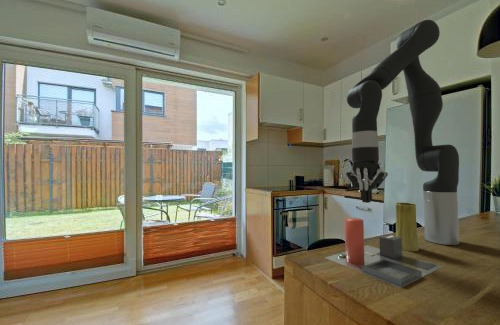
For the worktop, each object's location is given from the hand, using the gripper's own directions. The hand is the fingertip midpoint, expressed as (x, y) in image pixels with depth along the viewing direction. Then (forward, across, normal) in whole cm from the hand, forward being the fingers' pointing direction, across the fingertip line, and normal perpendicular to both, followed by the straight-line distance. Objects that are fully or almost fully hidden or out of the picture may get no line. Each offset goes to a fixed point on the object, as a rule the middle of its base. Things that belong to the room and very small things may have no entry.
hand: (366, 202), depth 73 cm
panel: (+15, -8, +7) cm, 18 cm away
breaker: (+14, -7, 0) cm, 16 cm away
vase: (+15, -6, -11) cm, 20 cm away
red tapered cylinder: (+14, -4, +12) cm, 19 cm away
